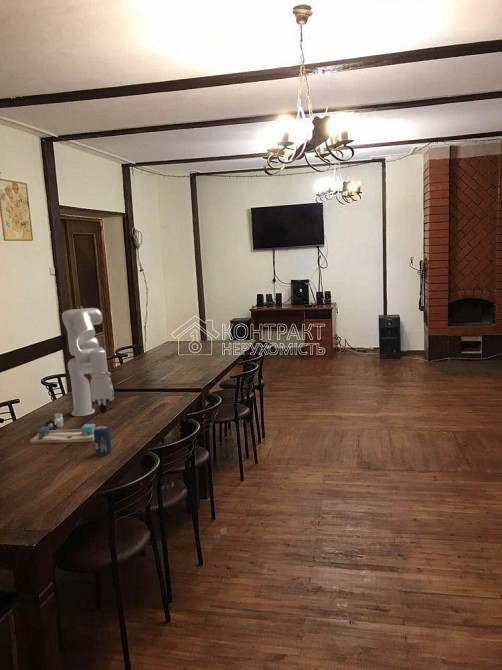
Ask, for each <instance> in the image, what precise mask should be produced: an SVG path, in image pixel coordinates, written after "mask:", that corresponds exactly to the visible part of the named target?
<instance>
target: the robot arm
mask: <svg viewBox="0 0 502 670" xmlns="http://www.w3.org/2000/svg"><path fill="white" fill-rule="evenodd" d="M61 320H62V323H63V325H64V326H65V329H66V332H67V341H68V351H69V353H70V355H71V356H74V358H72V359H69V361H68V362H67V369H68V372H69V377H70V384H71V393H72V401H73V410H72V412H71V415H72V416H73V417H84V416H89V415H93V414H94V413H96V409H95V408H93V406H92V405H93V403H96V404H97V405H98V406H99V412H100V413H101V414H105V413H106V412H107V411H108V406H107V404H108V403H109V402H110V401H111V402H112V401H113V400H114V399H115V397H114V387H113V383H112V379H111V375H112V373H111V372H110V371H109V369H108V361H107V352H106V350H105V349H104V348H103V347H101V346H100V342H99V341H98V338H97V337H96V330H95V329H96V328H95V327H94V325H95V326H97V325H101V324H102V322H103V314H102V312H101V310H100V309H99V308H96V307H89V308H88V307H87V308H85V307H84V308H76V309H75V308H73V309H68V310H65V311H63V312H62V317H61ZM87 374H91V378H90V380H89V379H88V378H87V377H86V376H85V375H87Z"/></svg>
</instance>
